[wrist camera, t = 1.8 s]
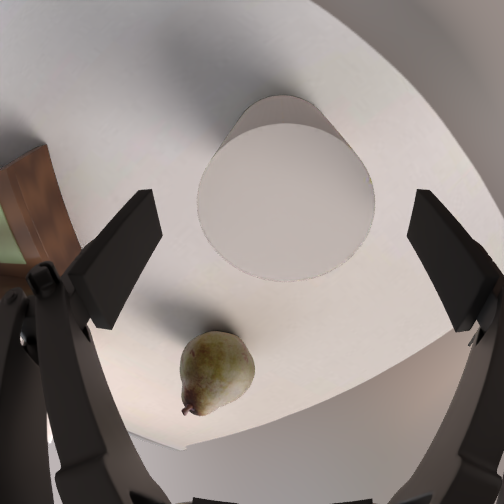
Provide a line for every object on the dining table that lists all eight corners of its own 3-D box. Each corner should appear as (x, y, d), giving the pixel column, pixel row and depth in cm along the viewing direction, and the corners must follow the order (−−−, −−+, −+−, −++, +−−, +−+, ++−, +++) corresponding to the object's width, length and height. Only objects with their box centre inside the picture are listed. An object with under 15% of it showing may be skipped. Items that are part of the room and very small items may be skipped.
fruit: (180, 315, 36) (155, 397, 27) (253, 316, 35) (243, 406, 26) (199, 359, 42) (183, 429, 33) (260, 361, 41) (254, 436, 31)
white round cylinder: (314, 198, 25) (334, 295, 16) (224, 174, 25) (187, 260, 15) (345, 113, 21) (402, 160, 11) (246, 84, 20) (214, 102, 10)
